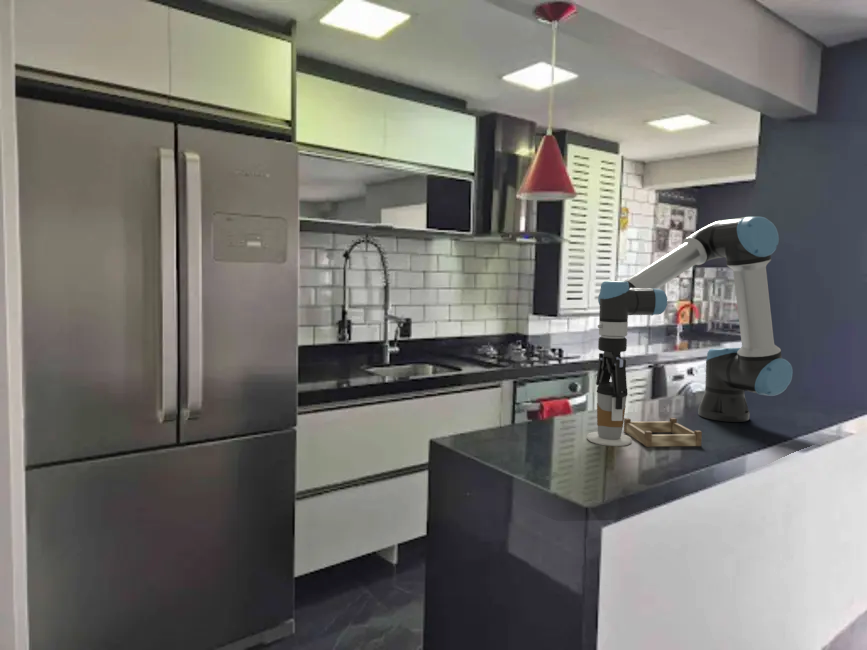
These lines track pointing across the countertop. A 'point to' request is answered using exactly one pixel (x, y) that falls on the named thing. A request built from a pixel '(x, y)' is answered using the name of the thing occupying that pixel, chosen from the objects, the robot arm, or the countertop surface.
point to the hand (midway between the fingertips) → (609, 415)
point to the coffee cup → (608, 413)
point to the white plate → (620, 442)
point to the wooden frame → (679, 438)
